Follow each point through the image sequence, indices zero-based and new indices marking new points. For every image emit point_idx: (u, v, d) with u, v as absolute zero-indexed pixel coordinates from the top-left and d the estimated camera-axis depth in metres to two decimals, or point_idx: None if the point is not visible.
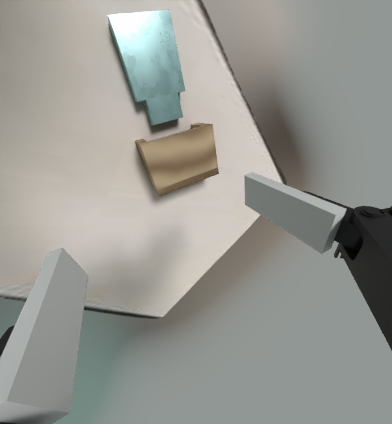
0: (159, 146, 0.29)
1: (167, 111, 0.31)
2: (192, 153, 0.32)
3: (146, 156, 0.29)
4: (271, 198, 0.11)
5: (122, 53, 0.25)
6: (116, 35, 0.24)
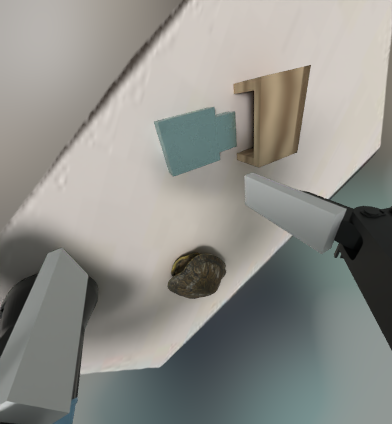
0: (263, 150, 0.31)
1: (228, 131, 0.30)
2: (279, 110, 0.28)
3: (266, 162, 0.32)
4: (271, 198, 0.11)
5: (192, 168, 0.31)
6: (182, 172, 0.31)
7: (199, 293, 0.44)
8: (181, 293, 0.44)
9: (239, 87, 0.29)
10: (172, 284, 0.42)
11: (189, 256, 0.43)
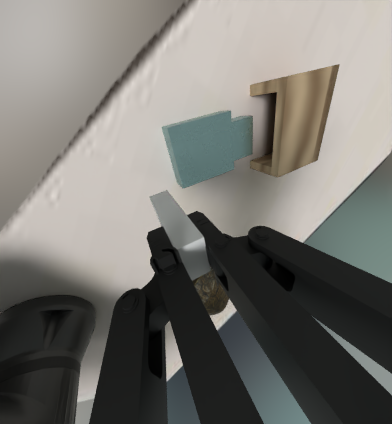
0: (284, 158, 0.27)
1: (245, 137, 0.27)
2: (303, 114, 0.25)
3: (286, 172, 0.29)
4: None
5: (203, 179, 0.28)
6: (193, 183, 0.27)
7: (208, 313, 0.40)
8: None
9: (257, 88, 0.26)
10: None
11: None
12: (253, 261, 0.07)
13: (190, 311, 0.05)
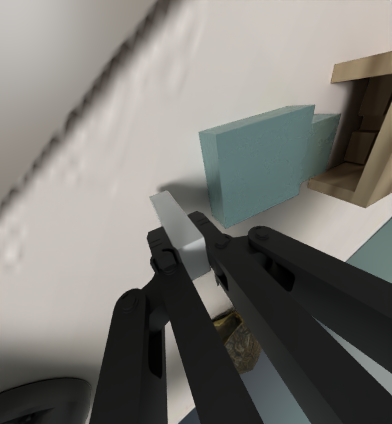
0: (382, 181, 0.17)
1: (322, 148, 0.17)
2: None
3: (377, 199, 0.19)
4: None
5: (256, 212, 0.18)
6: (241, 219, 0.17)
7: None
8: None
9: (352, 69, 0.16)
10: None
11: (225, 322, 0.30)
12: (253, 261, 0.07)
13: (190, 311, 0.05)
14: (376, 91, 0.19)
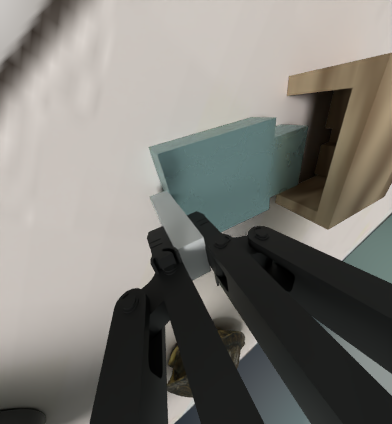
0: (343, 202, 0.16)
1: (291, 161, 0.16)
2: (389, 130, 0.14)
3: (341, 220, 0.18)
4: None
5: (221, 230, 0.17)
6: None
7: None
8: (184, 396, 0.29)
9: (305, 82, 0.14)
10: (169, 389, 0.27)
11: None
12: (253, 261, 0.07)
13: (190, 311, 0.05)
14: (340, 103, 0.18)
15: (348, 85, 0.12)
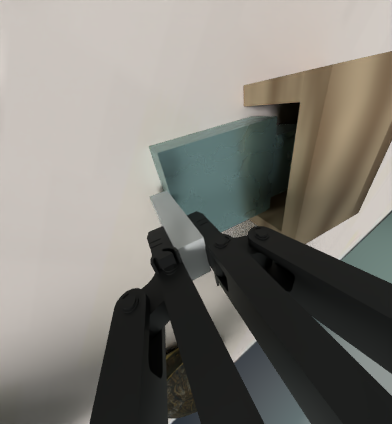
0: (305, 223, 0.15)
1: None
2: (350, 147, 0.12)
3: (307, 240, 0.16)
4: None
5: (222, 230, 0.16)
6: None
7: None
8: None
9: (257, 93, 0.13)
10: None
11: (168, 359, 0.27)
12: (253, 261, 0.07)
13: (190, 311, 0.05)
14: None
15: (296, 99, 0.10)
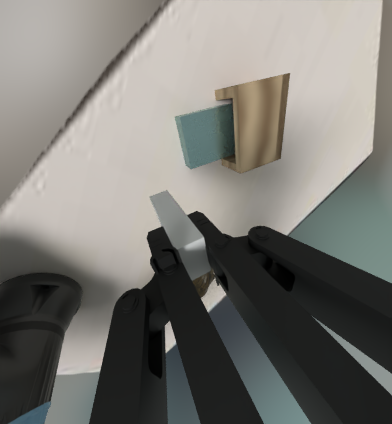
0: (244, 156, 0.31)
1: None
2: (258, 117, 0.28)
3: (249, 168, 0.32)
4: None
5: (208, 162, 0.33)
6: (199, 165, 0.32)
7: None
8: None
9: (220, 94, 0.29)
10: None
11: None
12: (253, 261, 0.07)
13: (190, 311, 0.05)
14: None
15: (231, 96, 0.26)
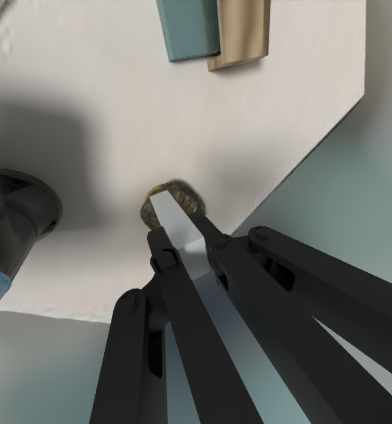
0: (229, 39, 0.29)
1: None
2: None
3: (234, 58, 0.31)
4: None
5: (192, 53, 0.31)
6: (182, 54, 0.31)
7: None
8: (156, 225, 0.43)
9: None
10: (145, 212, 0.41)
11: (163, 186, 0.42)
12: (253, 261, 0.07)
13: (190, 311, 0.05)
14: None
15: None
